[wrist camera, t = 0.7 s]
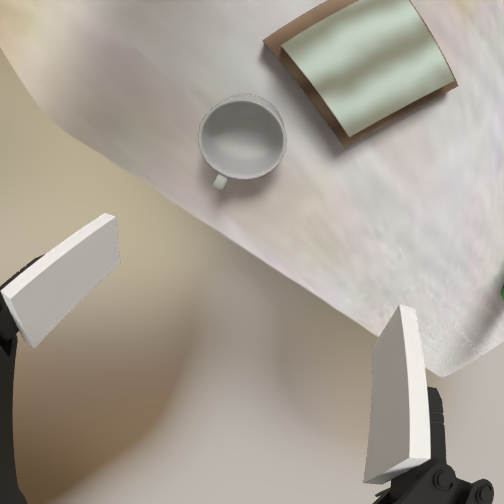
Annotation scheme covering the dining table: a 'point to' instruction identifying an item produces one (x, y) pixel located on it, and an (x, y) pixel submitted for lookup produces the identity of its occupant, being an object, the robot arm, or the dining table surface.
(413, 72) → the block stand
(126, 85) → the dining table surface
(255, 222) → the dining table surface
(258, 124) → the teacup
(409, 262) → the dining table surface
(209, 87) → the dining table surface
